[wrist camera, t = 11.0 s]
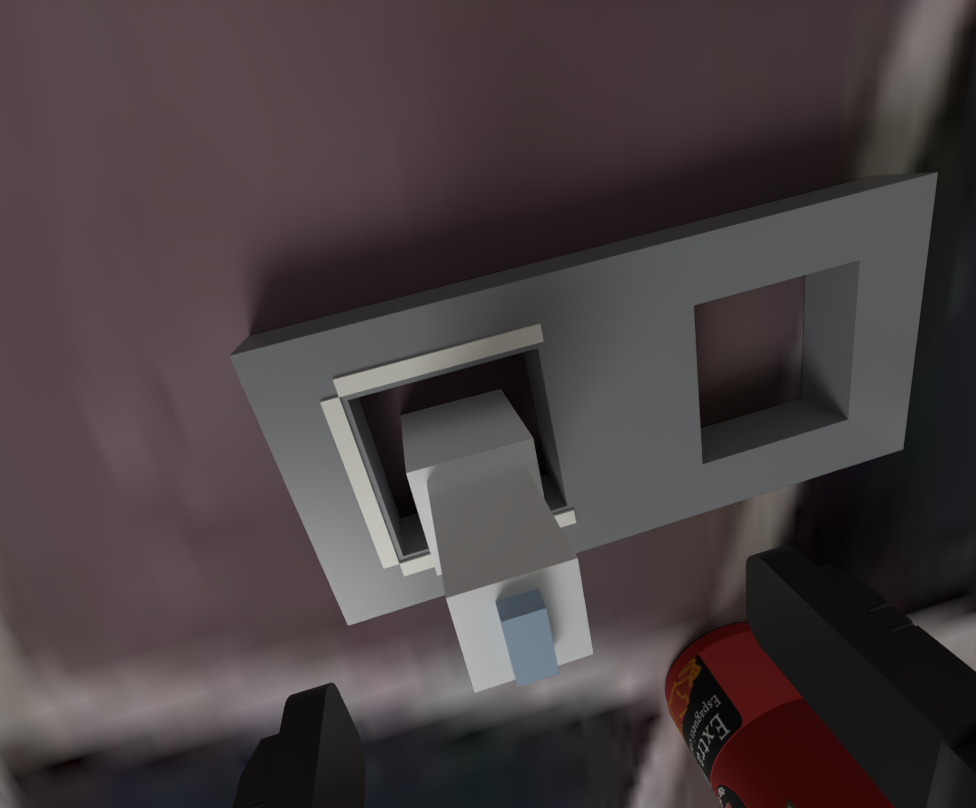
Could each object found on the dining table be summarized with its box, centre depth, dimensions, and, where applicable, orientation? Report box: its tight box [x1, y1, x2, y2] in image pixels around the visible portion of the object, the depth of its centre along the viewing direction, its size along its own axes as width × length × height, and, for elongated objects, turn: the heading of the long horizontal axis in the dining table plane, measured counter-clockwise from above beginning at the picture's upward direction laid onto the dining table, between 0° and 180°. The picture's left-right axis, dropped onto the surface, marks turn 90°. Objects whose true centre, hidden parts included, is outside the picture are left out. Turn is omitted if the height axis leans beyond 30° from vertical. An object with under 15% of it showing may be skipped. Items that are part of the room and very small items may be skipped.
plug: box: [400, 389, 593, 693], centre depth 16 cm, size 4×4×10 cm
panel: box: [229, 172, 938, 625], centre depth 20 cm, size 24×11×3 cm, turn 102°
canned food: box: [665, 622, 895, 808], centre depth 24 cm, size 8×8×11 cm
